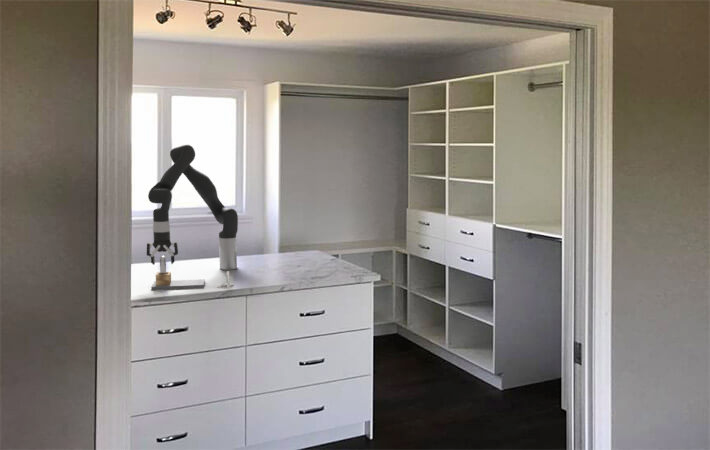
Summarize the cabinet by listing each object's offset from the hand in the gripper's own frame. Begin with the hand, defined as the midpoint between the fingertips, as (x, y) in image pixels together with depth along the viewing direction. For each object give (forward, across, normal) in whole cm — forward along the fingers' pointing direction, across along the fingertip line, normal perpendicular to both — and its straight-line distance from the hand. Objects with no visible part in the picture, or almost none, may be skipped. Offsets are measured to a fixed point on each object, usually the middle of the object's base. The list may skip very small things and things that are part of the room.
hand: (162, 263), depth 303 cm
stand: (+12, -29, +5) cm, 32 cm away
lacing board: (+11, -7, 0) cm, 13 cm away
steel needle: (+10, 0, 0) cm, 10 cm away
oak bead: (+10, 0, 0) cm, 10 cm away
